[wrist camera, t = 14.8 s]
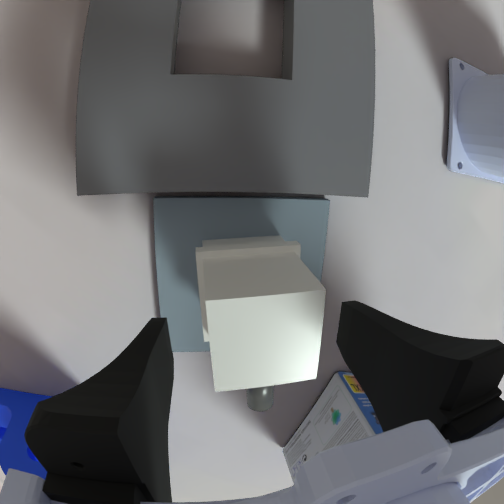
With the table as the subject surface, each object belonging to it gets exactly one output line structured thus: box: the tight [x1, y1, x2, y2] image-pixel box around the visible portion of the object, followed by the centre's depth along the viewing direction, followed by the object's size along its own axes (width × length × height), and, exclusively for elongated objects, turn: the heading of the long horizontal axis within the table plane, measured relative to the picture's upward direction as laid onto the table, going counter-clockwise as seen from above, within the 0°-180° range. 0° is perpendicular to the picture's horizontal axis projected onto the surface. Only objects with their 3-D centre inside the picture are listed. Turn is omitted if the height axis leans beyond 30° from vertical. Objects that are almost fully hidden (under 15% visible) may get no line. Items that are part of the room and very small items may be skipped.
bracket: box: [0, 388, 53, 480], centre depth 15 cm, size 18×8×9 cm, turn 88°
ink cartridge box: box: [283, 371, 383, 482], centre depth 16 cm, size 10×6×14 cm, turn 159°
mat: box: [153, 196, 330, 352], centre depth 17 cm, size 9×9×1 cm
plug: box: [196, 235, 326, 411], centre depth 14 cm, size 5×7×6 cm
